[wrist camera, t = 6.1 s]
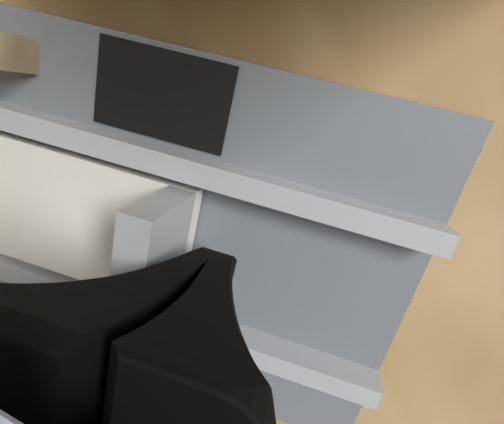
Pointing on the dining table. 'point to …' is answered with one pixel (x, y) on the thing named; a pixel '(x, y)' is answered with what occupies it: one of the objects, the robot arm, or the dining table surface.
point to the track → (264, 190)
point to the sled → (89, 211)
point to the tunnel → (19, 53)
